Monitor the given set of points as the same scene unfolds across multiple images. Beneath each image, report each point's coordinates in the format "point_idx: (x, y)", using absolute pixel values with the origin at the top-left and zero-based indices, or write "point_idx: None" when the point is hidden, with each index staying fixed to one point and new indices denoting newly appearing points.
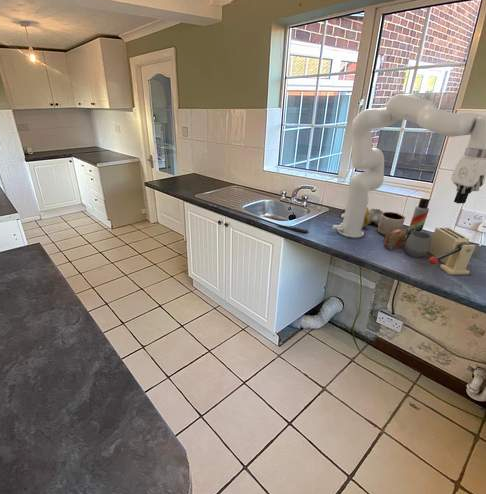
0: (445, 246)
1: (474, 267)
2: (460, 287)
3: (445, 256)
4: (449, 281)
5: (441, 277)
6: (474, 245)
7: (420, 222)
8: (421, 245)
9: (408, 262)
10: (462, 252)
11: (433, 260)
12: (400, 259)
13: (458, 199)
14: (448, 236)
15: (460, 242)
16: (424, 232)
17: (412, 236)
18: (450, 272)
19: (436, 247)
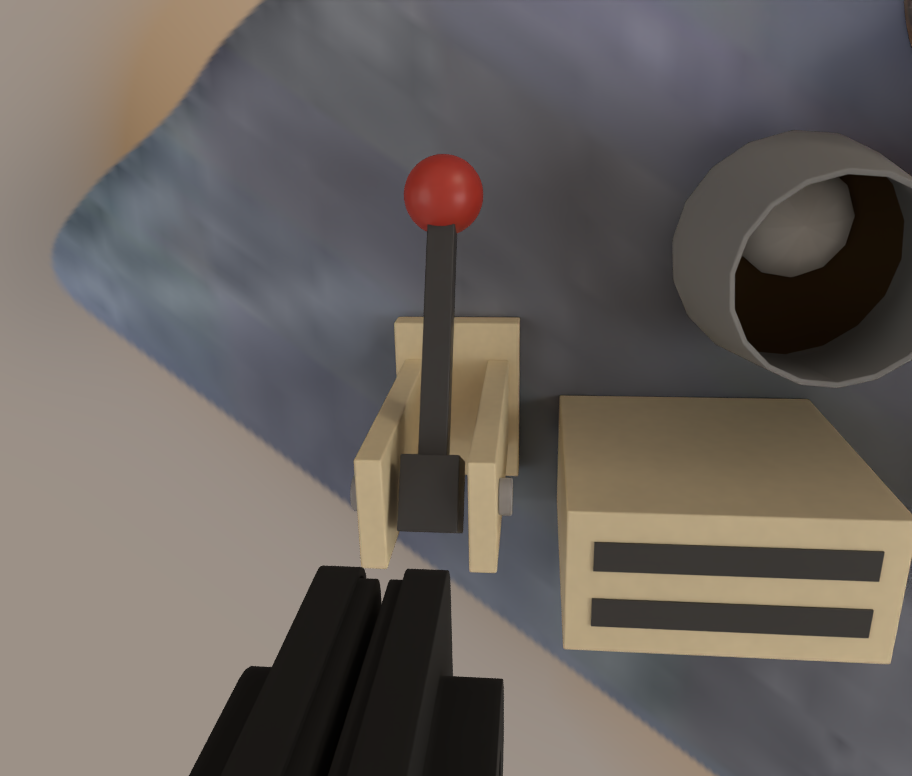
0: (646, 454)
1: (504, 573)
2: (216, 268)
3: (425, 301)
4: (295, 242)
5: (351, 218)
6: (370, 563)
7: None
8: (705, 225)
9: (615, 73)
10: (370, 432)
11: (413, 173)
12: (681, 21)
13: (292, 644)
14: (673, 508)
15: (469, 496)
16: (898, 366)
17: (844, 163)
18: (395, 322)
19: (738, 430)
